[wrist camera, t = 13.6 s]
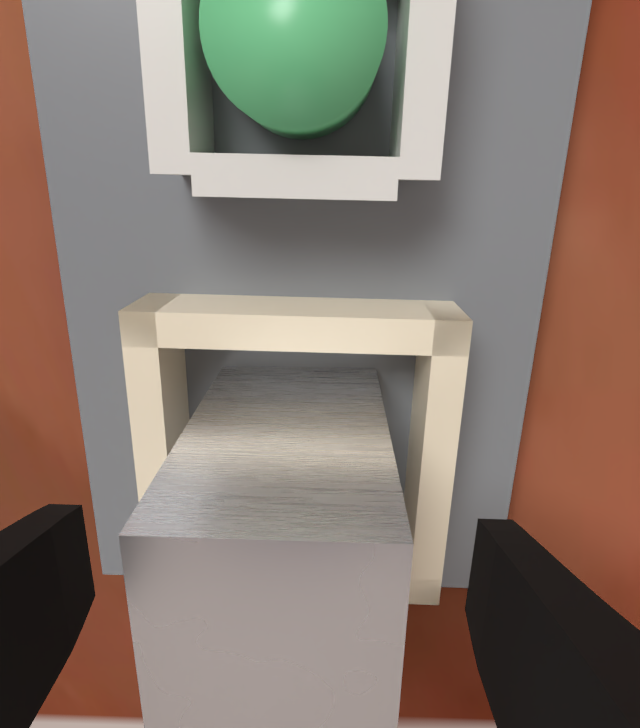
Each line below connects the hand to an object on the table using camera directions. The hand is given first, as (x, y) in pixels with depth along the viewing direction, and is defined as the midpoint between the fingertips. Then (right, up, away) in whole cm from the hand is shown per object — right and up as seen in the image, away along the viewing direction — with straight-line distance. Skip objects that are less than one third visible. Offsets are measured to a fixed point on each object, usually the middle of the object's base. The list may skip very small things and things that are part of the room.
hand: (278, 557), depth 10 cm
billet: (0, +2, +5) cm, 5 cm away
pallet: (0, +6, +5) cm, 7 cm away
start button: (0, +10, +2) cm, 10 cm away
